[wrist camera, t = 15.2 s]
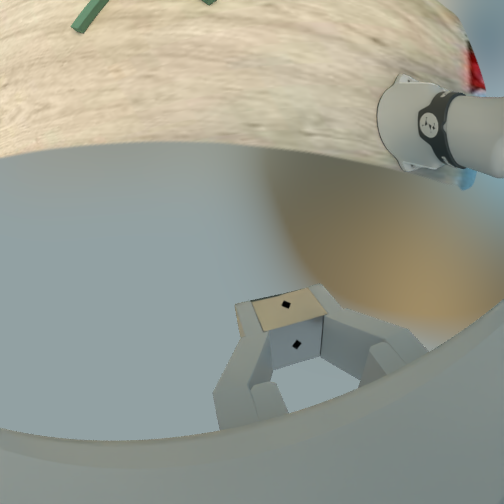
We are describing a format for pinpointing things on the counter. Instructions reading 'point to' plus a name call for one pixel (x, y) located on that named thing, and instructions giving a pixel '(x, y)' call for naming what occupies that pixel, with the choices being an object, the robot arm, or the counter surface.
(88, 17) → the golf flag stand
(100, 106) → the counter surface
